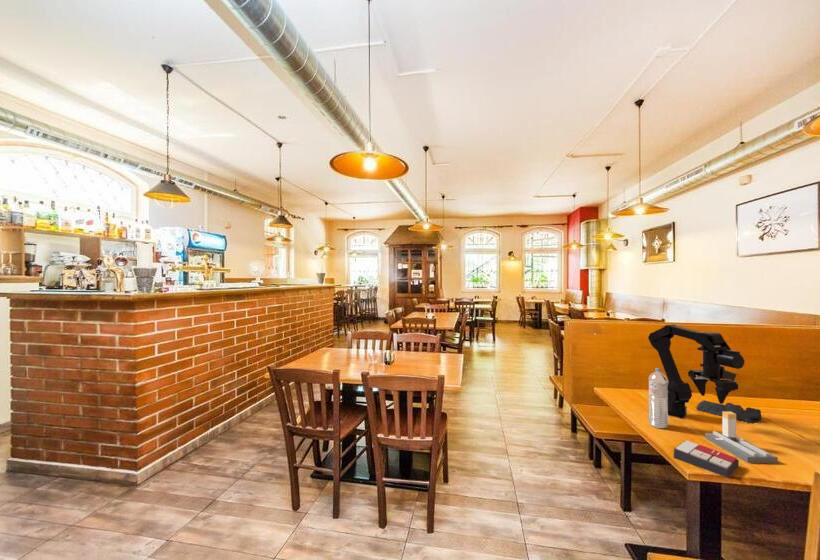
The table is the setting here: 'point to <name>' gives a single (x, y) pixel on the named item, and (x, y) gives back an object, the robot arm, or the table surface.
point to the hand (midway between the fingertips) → (711, 399)
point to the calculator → (706, 458)
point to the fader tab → (729, 425)
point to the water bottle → (658, 400)
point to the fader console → (741, 448)
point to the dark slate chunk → (741, 415)
